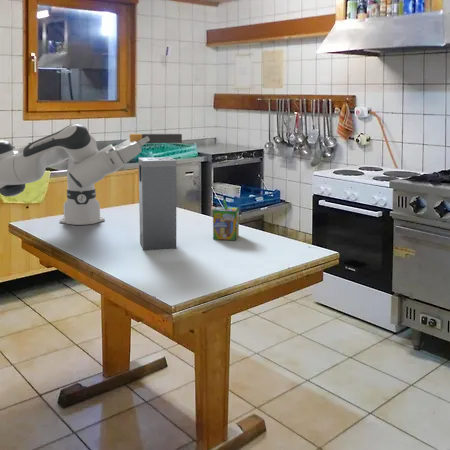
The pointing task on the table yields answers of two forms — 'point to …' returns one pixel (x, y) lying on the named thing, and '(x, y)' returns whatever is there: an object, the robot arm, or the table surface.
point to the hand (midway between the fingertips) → (148, 137)
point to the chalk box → (225, 222)
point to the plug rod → (158, 138)
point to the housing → (157, 203)
